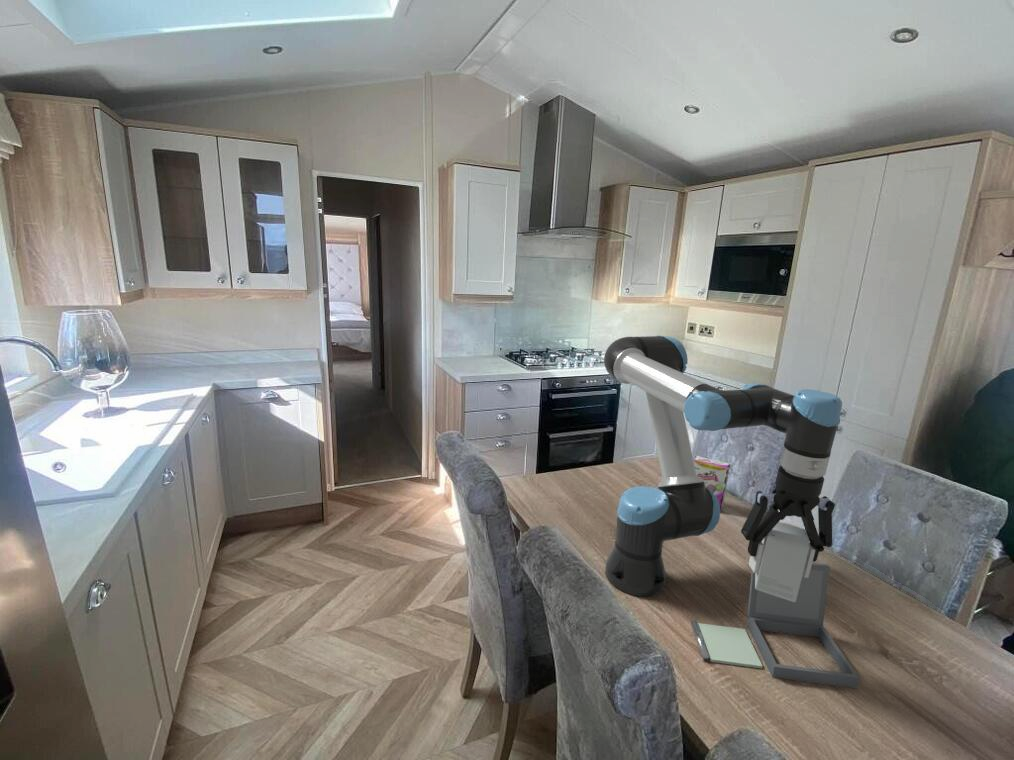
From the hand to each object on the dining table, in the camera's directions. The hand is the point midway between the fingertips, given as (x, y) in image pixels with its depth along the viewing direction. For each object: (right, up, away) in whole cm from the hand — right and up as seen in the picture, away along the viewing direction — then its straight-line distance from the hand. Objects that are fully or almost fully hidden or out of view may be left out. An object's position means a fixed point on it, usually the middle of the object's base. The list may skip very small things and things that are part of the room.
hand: (777, 570), depth 95 cm
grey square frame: (+6, -19, +3) cm, 20 cm away
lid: (+7, -8, +8) cm, 14 cm away
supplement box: (0, -4, +1) cm, 4 cm away
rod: (-14, -18, +5) cm, 23 cm away
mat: (-8, -18, +5) cm, 20 cm away
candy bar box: (+12, -4, +64) cm, 65 cm away
